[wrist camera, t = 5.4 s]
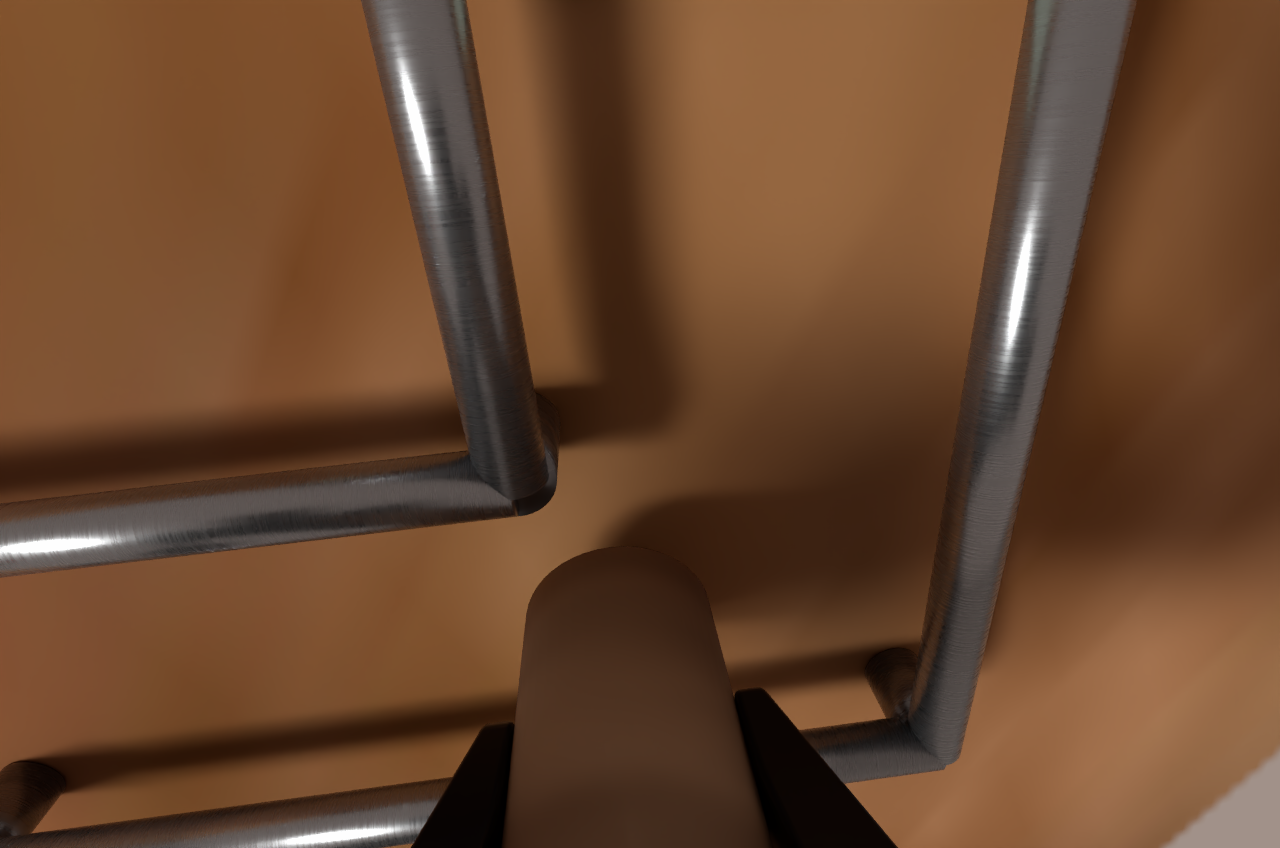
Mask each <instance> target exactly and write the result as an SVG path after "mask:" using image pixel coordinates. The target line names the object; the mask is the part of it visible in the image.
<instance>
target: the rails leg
mask: <svg viewBox="0 0 1280 848" xmlns="http://www.w3.org/2000/svg"><path fill="white" fill-rule="evenodd" d="M361 2H362V6H363V10H364V15H365V19H366V23H367V27H368V31H369V36H370V40H371V44H372V48H373V52H374V56H375V61H376V65H377V69H378V73H379V77H380V82H381V86H382V90H383V94H384V98H385V103H386V107H387V111H388V115H389V119H390V123H391V128H392V132H393V136H394V140H395V144H396V149H397V153H398V157H399V161H400V165H401V170H402V174H403V178H404V182H405V186H406V190H407V195H408V199H409V203H410V207H411V211H412V216H413V220H414V224H415V228H416V232H417V237H418V241H419V245H420V249H421V253H422V257H423V262H424V266H425V270H426V274H427V278H428V283H429V287H430V291H431V295H432V299H433V304H434V308H435V312H436V316H437V320H438V324H439V329H440V333H441V337H442V341H443V345H444V350H445V354H446V358H447V362H448V366H449V371H450V375H451V379H452V383H453V387H454V391H455V396H456V400H457V404H458V408H459V412H460V417H461V421H462V425H463V429H464V433H465V438H466V442H467V446H468V450H469V454H470V458H471V462H472V464H473V466H474V468H475V470H476V471H477V472H478V474H479V475H480V476H481V477H482V478H483V479H484V480H485V481H486V482H487V483H488V484H489V485H490V486H491V487H492V488H493V489H494V490H496V491H497V492H498V493H500V494H501V495H502V496H504V497H505V498H507V499H508V500H510V501H511V500H517V499H521V498H524V497H527V496H530V495H532V494H534V493H536V492H537V491H539V490H540V489H542V488H543V487H544V486H545V485H546V483H547V482H548V480H549V473H548V467H547V461H546V454H545V448H544V442H543V436H542V431H541V425H540V419H539V414H538V408H537V402H536V396H535V391H534V385H533V379H532V373H531V368H530V362H529V356H528V351H527V345H526V339H525V333H524V328H523V322H522V316H521V310H520V305H519V299H518V293H517V288H516V282H515V276H514V270H513V265H512V259H511V253H510V247H509V242H508V236H507V230H506V225H505V219H504V213H503V207H502V202H501V196H500V190H499V184H498V179H497V173H496V167H495V162H494V156H493V150H492V144H491V139H490V133H489V127H488V121H487V116H486V110H485V104H484V99H483V93H482V87H481V81H480V76H479V70H478V64H477V58H476V53H475V47H474V41H473V36H472V30H471V24H470V18H469V13H468V7H467V1H466V0H361ZM1136 3H1137V0H1028V4H1027V10H1026V16H1025V22H1024V28H1023V34H1022V40H1021V46H1020V52H1019V58H1018V64H1017V70H1016V76H1015V82H1014V88H1013V94H1012V100H1011V105H1010V111H1009V117H1008V123H1007V129H1006V135H1005V141H1004V147H1003V153H1002V159H1001V165H1000V171H999V177H998V183H997V189H996V195H995V201H994V207H993V213H992V219H991V225H990V230H989V236H988V242H987V248H986V254H985V260H984V266H983V272H982V278H981V284H980V290H979V296H978V302H977V308H976V314H975V320H974V326H973V332H972V338H971V344H970V349H969V355H968V361H967V367H966V373H965V379H964V385H963V391H962V397H961V403H960V409H959V415H958V421H957V427H956V433H955V439H954V445H953V451H952V457H951V463H950V468H949V474H948V480H947V486H946V492H945V498H944V504H943V510H942V516H941V522H940V528H939V534H938V540H937V546H936V552H935V558H934V564H933V570H932V576H931V582H930V588H929V593H928V599H927V605H926V611H925V617H924V623H923V629H922V635H921V641H920V647H919V653H918V659H917V665H916V671H915V677H914V683H913V689H912V695H911V701H910V707H909V712H908V723H909V725H910V727H911V729H912V731H913V732H914V734H915V735H916V737H917V738H918V739H919V741H920V742H921V743H922V744H923V745H924V746H925V747H926V749H927V750H928V751H929V752H930V753H931V754H932V755H934V756H935V757H936V758H937V759H938V760H939V761H941V762H942V763H944V764H945V765H949V764H952V763H954V762H955V761H956V760H957V759H958V758H959V756H960V753H961V749H962V745H963V741H964V736H965V732H966V728H967V724H968V719H969V715H970V711H971V707H972V702H973V698H974V694H975V690H976V685H977V681H978V677H979V672H980V668H981V664H982V660H983V655H984V651H985V647H986V643H987V638H988V634H989V630H990V626H991V621H992V617H993V613H994V608H995V604H996V600H997V596H998V591H999V587H1000V583H1001V579H1002V574H1003V570H1004V566H1005V562H1006V557H1007V553H1008V549H1009V545H1010V540H1011V536H1012V532H1013V527H1014V523H1015V519H1016V515H1017V510H1018V506H1019V502H1020V498H1021V493H1022V489H1023V485H1024V481H1025V476H1026V472H1027V468H1028V463H1029V459H1030V455H1031V451H1032V446H1033V442H1034V438H1035V434H1036V429H1037V425H1038V421H1039V417H1040V412H1041V408H1042V404H1043V400H1044V395H1045V391H1046V387H1047V382H1048V378H1049V374H1050V370H1051V365H1052V361H1053V357H1054V353H1055V348H1056V344H1057V340H1058V336H1059V331H1060V327H1061V323H1062V318H1063V314H1064V310H1065V306H1066V301H1067V297H1068V293H1069V289H1070V284H1071V280H1072V276H1073V272H1074V267H1075V263H1076V259H1077V255H1078V250H1079V246H1080V242H1081V237H1082V233H1083V229H1084V225H1085V220H1086V216H1087V212H1088V208H1089V203H1090V199H1091V195H1092V191H1093V186H1094V182H1095V178H1096V173H1097V169H1098V165H1099V161H1100V156H1101V152H1102V148H1103V144H1104V139H1105V135H1106V131H1107V127H1108V122H1109V118H1110V114H1111V110H1112V105H1113V101H1114V97H1115V92H1116V88H1117V84H1118V80H1119V75H1120V71H1121V67H1122V63H1123V58H1124V54H1125V50H1126V46H1127V41H1128V37H1129V33H1130V28H1131V24H1132V20H1133V16H1134V11H1135V7H1136Z"/></svg>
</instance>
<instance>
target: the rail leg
mask: <svg viewBox="0 0 1280 848" xmlns="http://www.w3.org/2000/svg"><path fill="white" fill-rule="evenodd" d="M535 396H536V402H537V408H538V414H539V419H540V425H541V431H542V436H543V442H544V448H545V454H546V461H547V467H548V473H549V480H548V482H547V483H546V485H545V486H544V487H543V488H542V489H540V490H539V491H537V492H536V493H534V494H532V495H530V496H527V497H524V498H521V499H517V500H511V501H510V500H508V499H507V498H505V497H504V496H502V495H501V494H500V493H498V492H497V491H496V490H494V489H493V488H492V487H491V486H490V485H489V484H488V483H487V482H486V481H485V480H484V479H483V478H482V477H481V476H480V475H479V474H478V472H477V471H476V470H475V468H474V466H473V464H472V462H471V458H470V454H469V450H467V451H458V452H450V453H441V454H432V455H423V456H414V457H406V458H397V459H388V460H379V461H370V462H362V463H353V464H344V465H335V466H326V467H318V468H309V469H300V470H291V471H282V472H274V473H265V474H256V475H247V476H238V477H230V478H221V479H212V480H203V481H194V482H186V483H177V484H168V485H159V486H150V487H142V488H133V489H124V490H115V491H106V492H98V493H89V494H80V495H71V496H62V497H54V498H45V499H36V500H27V501H18V502H10V503H1V504H0V578H1V577H10V576H18V575H27V574H35V573H44V572H52V571H60V570H69V569H77V568H86V567H94V566H103V565H111V564H120V563H128V562H137V561H145V560H153V559H162V558H170V557H179V556H187V555H196V554H204V553H213V552H221V551H230V550H238V549H246V548H255V547H263V546H272V545H280V544H289V543H297V542H306V541H314V540H323V539H331V538H339V537H348V536H356V535H365V534H373V533H382V532H390V531H399V530H407V529H416V528H424V527H432V526H441V525H449V524H458V523H466V522H475V521H483V520H492V519H500V518H508V517H517V516H523V515H528V514H531V513H534V512H536V511H538V510H540V509H541V508H543V507H544V506H545V505H546V504H547V503H548V502H549V501H550V500H551V498H552V497H553V495H554V492H555V490H556V484H557V469H558V453H559V438H560V418H559V414H558V412H557V410H556V408H555V407H554V406H553V404H552V403H551V402H550V401H549V400H547V399H546V398H545V397H543V396H541V395H539V394H537V393H535ZM917 659H918V658H917V657H916V655H915V654H914V653H913V652H911V651H910V650H907V649H902V648H896V649H890V650H886V651H884V652H882V653H880V654H878V655H876V656H875V657H874V658H873V659H872V660H871V661H870V662H869V663H868V665H867V667H866V669H865V677H866V679H867V681H868V683H869V685H870V687H871V689H872V691H873V693H874V695H875V697H876V699H877V701H878V703H879V705H880V707H881V709H882V711H883V713H884V715H885V717H886V719H879V720H871V721H864V722H856V723H849V724H842V725H834V726H827V727H819V728H812V729H804V730H799V731H800V732H801V733H802V735H803V736H804V737H805V738H806V739H807V740H808V742H809V743H810V744H811V745H812V746H813V748H814V749H815V750H816V751H817V752H818V754H819V755H820V756H821V757H822V758H823V759H824V761H825V762H826V763H827V764H828V765H829V767H830V768H831V769H832V770H833V771H834V773H835V774H836V775H837V776H838V777H839V778H840V780H841V781H842V782H843V783H844V784H846V783H853V782H860V781H867V780H875V779H882V778H889V777H896V776H903V775H911V774H918V773H925V772H932V771H940V770H944V769H945V767H946V765H945V764H944V763H942V762H941V761H939V760H938V759H937V758H936V757H935V756H934V755H932V754H931V753H930V752H929V751H928V750H927V749H926V747H925V746H924V745H923V744H922V743H921V742H920V741H919V739H918V738H917V737H916V735H915V734H914V732H913V731H912V729H911V727H910V725H909V723H908V712H909V707H910V701H911V695H912V689H913V683H914V677H915V671H916V665H917ZM452 778H453V777H448V778H440V779H433V780H426V781H418V782H411V783H403V784H396V785H388V786H381V787H374V788H366V789H359V790H351V791H344V792H336V793H329V794H322V795H314V796H307V797H299V798H292V799H284V800H277V801H270V802H262V803H255V804H247V805H240V806H232V807H225V808H218V809H210V810H203V811H195V812H188V813H180V814H173V815H166V816H158V817H151V818H143V819H136V820H128V821H121V822H114V823H106V824H99V825H91V826H84V827H76V828H69V829H62V830H54V831H47V832H39V833H32V832H33V830H34V829H35V828H36V827H37V825H38V824H39V823H40V821H41V820H42V819H43V817H44V816H45V815H46V813H47V812H48V811H49V810H50V808H51V807H52V806H53V804H54V803H55V802H56V800H57V799H58V798H59V796H60V795H61V794H62V793H63V791H64V790H65V787H66V784H65V781H64V779H63V777H62V776H61V775H60V774H59V773H58V772H56V771H55V770H53V769H51V768H49V767H47V766H44V765H40V764H36V763H29V762H20V763H13V764H10V765H8V766H6V767H4V768H3V769H2V770H1V771H0V848H384V847H391V846H398V845H406V844H413V843H414V841H415V840H416V838H417V836H418V835H419V833H420V831H421V830H422V828H423V826H424V825H425V823H426V821H427V820H428V818H429V816H430V815H431V813H432V811H433V810H434V808H435V806H436V804H437V803H438V801H439V799H440V798H441V796H442V794H443V793H444V791H445V789H446V788H447V786H448V784H449V783H450V781H451V779H452ZM31 833H32V834H31Z"/></svg>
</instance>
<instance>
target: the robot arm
mask: <svg viewBox="0 0 1280 848" xmlns="http://www.w3.org/2000/svg"><path fill="white" fill-rule="evenodd" d="M734 700H735V704H736V708H737V712H738V715H739V719H740V723H741V727H742V731H743V734H744V738H745V742H746V746H747V750H748V754H749V757H750V761H751V765H752V769H753V773H754V776H755V780H756V784H757V788H758V791H759V795H760V799H761V803H762V806H763V810H764V814H765V818H766V822H767V825H768V829H769V833H770V837H771V841H772V844H773V848H898V847H897V846H896V845H895V844H894V843H893V841H892V840H891V839H890V838H889V837H888V835H887V834H886V833H885V832H884V831H883V829H882V828H881V827H880V826H879V825H878V824H877V822H876V821H875V820H874V819H873V818H872V816H871V815H870V814H869V813H868V812H867V810H866V809H865V808H864V807H863V806H862V805H861V803H860V802H859V801H858V800H857V799H856V797H855V796H854V795H853V794H852V793H851V791H850V790H849V789H848V788H847V787H846V786H845V784H844V783H843V782H842V781H841V780H840V778H839V777H838V776H837V775H836V774H835V773H834V771H833V770H832V769H831V768H830V767H829V765H828V764H827V763H826V762H825V761H824V759H823V758H822V757H821V756H820V755H819V754H818V752H817V751H816V750H815V749H814V748H813V746H812V745H811V744H810V743H809V742H808V740H807V739H806V738H805V737H804V736H803V735H802V733H801V732H800V731H799V730H798V729H797V727H796V726H795V725H794V724H793V723H792V721H791V720H790V719H789V718H788V717H787V716H786V714H785V713H784V712H783V711H782V710H781V708H780V707H779V706H778V705H777V704H776V703H775V701H774V700H773V699H772V698H771V697H770V695H769V694H768V693H767V692H766V691H765V690H764V689H762V688H760V687H756V688H749V689H741V690H738V691H736V693H735V696H734ZM513 734H514V724H513V722H511V721H504V722H496V723H489V724H486V725H485V726H484V727H483V728H482V729H481V731H480V732H479V734H478V736H477V737H476V739H475V741H474V742H473V744H472V746H471V747H470V749H469V751H468V752H467V754H466V756H465V757H464V759H463V761H462V762H461V764H460V766H459V767H458V769H457V771H456V773H455V774H454V776H453V778H452V779H451V781H450V783H449V784H448V786H447V788H446V789H445V791H444V793H443V794H442V796H441V798H440V799H439V801H438V803H437V804H436V806H435V808H434V810H433V811H432V813H431V815H430V816H429V818H428V820H427V821H426V823H425V825H424V826H423V828H422V830H421V831H420V833H419V835H418V836H417V838H416V840H415V841H414V843H413V845H412V846H411V848H501V844H502V835H503V826H504V817H505V808H506V798H507V789H508V780H509V771H510V761H511V752H512V743H513Z"/></svg>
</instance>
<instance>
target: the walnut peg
mask: <svg viewBox="0 0 1280 848" xmlns="http://www.w3.org/2000/svg"><path fill="white" fill-rule="evenodd" d="M501 848H773V844H772V841H771V837H770V833H769V829H768V825H767V822H766V818H765V814H764V810H763V806H762V803H761V799H760V795H759V791H758V788H757V784H756V780H755V776H754V773H753V769H752V765H751V761H750V757H749V754H748V750H747V746H746V742H745V738H744V734H743V731H742V727H741V723H740V719H739V715H738V712H737V708H736V704H735V700H734V696H733V692H732V688H731V685H730V681H729V677H728V673H727V669H726V666H725V662H724V658H723V654H722V650H721V646H720V643H719V639H718V635H717V631H716V627H715V624H714V620H713V616H712V612H711V608H710V605H709V601H708V597H707V594H706V591H705V589H704V587H703V585H702V583H701V582H700V581H699V579H698V578H697V577H696V575H695V574H694V573H693V572H692V571H691V570H690V569H689V568H688V567H686V566H685V565H683V564H682V563H681V562H679V561H678V560H676V559H674V558H672V557H670V556H668V555H665V554H663V553H660V552H657V551H653V550H650V549H645V548H638V547H609V548H603V549H597V550H593V551H590V552H587V553H583V554H581V555H579V556H576V557H574V558H572V559H570V560H568V561H566V562H564V563H563V564H561V565H560V566H558V567H557V568H555V569H554V570H553V571H551V572H550V573H549V574H548V575H547V576H546V577H545V578H544V579H543V580H542V582H541V583H540V584H539V585H538V587H537V588H536V590H535V591H534V593H533V595H532V597H531V599H530V602H529V605H528V609H527V614H526V623H525V632H524V641H523V650H522V660H521V669H520V678H519V687H518V697H517V706H516V715H515V724H514V734H513V743H512V752H511V761H510V771H509V780H508V789H507V798H506V808H505V817H504V826H503V835H502V844H501Z"/></svg>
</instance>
